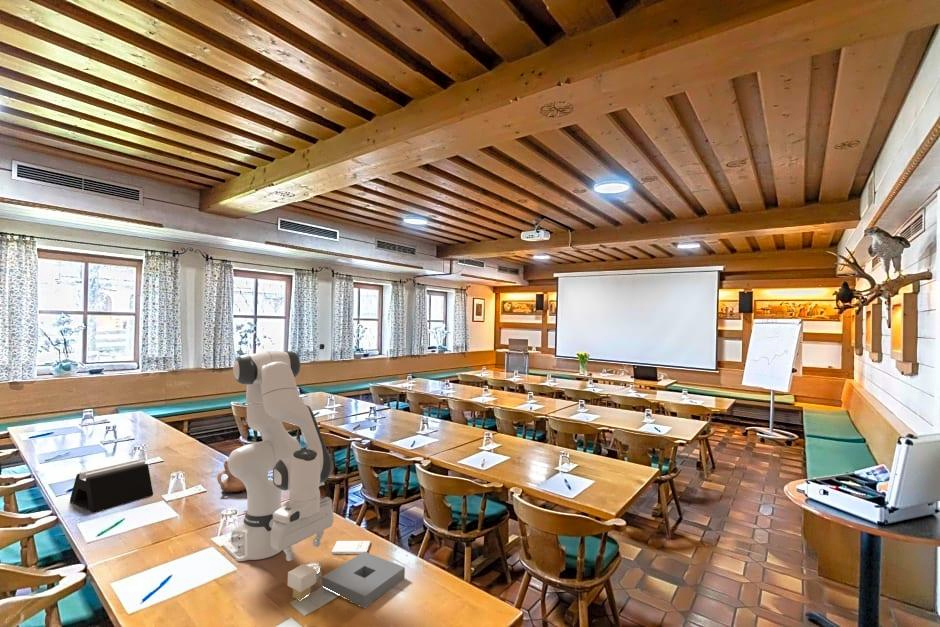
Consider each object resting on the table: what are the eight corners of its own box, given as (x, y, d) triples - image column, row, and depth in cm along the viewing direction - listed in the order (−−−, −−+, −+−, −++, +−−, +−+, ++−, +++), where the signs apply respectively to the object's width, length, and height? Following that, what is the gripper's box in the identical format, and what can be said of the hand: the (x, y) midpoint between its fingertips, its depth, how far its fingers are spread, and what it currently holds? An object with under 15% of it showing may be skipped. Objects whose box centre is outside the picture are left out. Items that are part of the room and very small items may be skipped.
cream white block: (287, 597, 130) (288, 572, 130) (302, 588, 134) (303, 563, 135) (300, 604, 127) (301, 578, 127) (315, 594, 131) (316, 569, 131)
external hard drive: (337, 544, 162) (370, 544, 163) (331, 556, 154) (366, 555, 155) (337, 540, 162) (370, 540, 163) (331, 551, 154) (366, 551, 155)
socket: (322, 588, 135) (322, 576, 135) (363, 561, 150) (364, 551, 150) (364, 608, 125) (364, 596, 125) (404, 578, 141) (404, 567, 141)
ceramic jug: (247, 481, 223) (248, 453, 223) (262, 487, 214) (262, 459, 215) (210, 492, 209) (210, 462, 209) (223, 499, 200) (224, 468, 200)
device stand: (69, 502, 194) (71, 468, 194) (128, 486, 214) (129, 456, 214) (93, 513, 183) (95, 477, 184) (153, 495, 203) (154, 463, 204)
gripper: (324, 493, 142) (324, 536, 141) (267, 515, 124) (266, 565, 123) (338, 496, 138) (337, 541, 138) (281, 520, 121) (280, 571, 120)
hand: (303, 552), depth 130 cm, fingers open, 8 cm apart
